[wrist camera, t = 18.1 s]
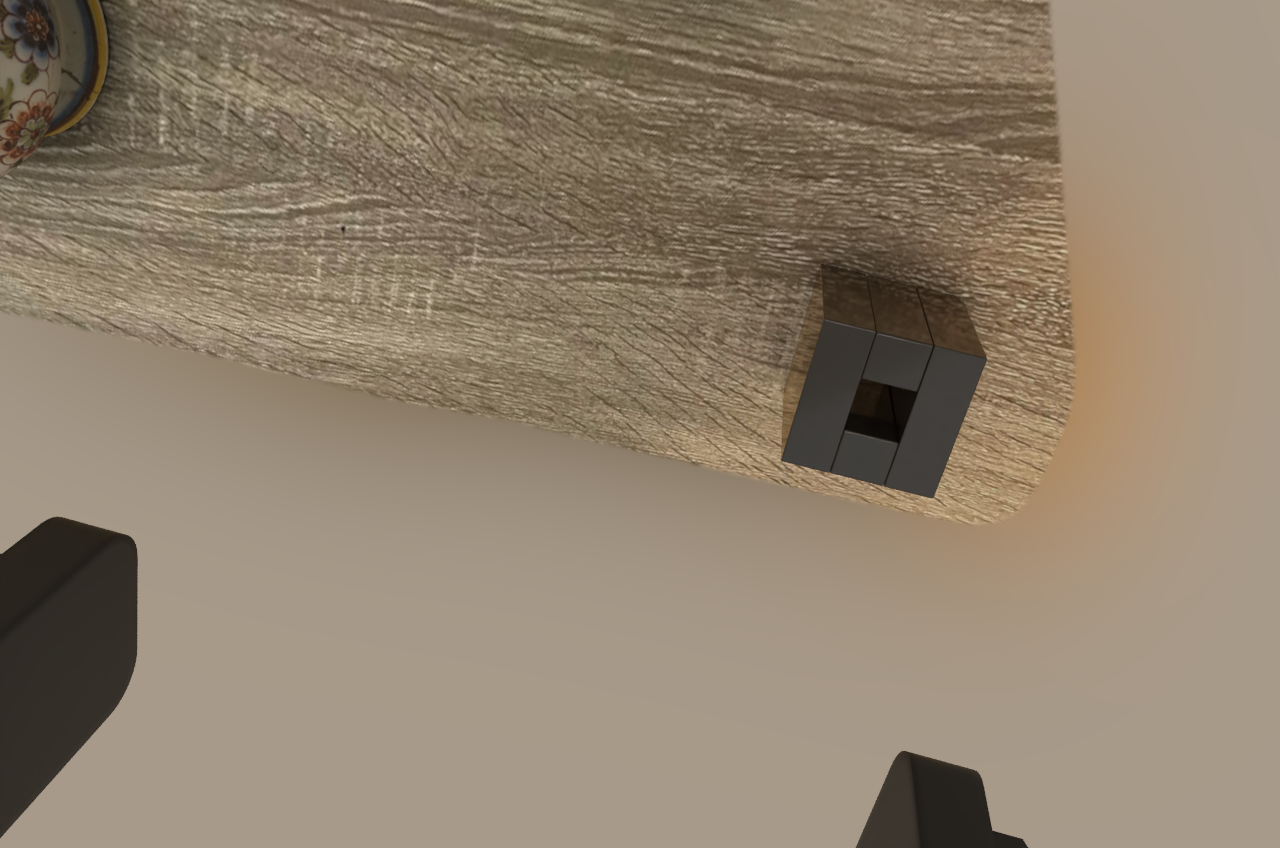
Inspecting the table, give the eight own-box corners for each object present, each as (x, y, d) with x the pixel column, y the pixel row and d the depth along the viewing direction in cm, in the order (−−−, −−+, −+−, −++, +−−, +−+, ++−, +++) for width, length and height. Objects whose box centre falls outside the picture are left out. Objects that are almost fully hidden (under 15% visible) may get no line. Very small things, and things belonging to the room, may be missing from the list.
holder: (962, 297, 46) (987, 358, 40) (916, 423, 49) (933, 499, 42) (821, 263, 46) (824, 318, 40) (783, 390, 49) (780, 461, 43)
